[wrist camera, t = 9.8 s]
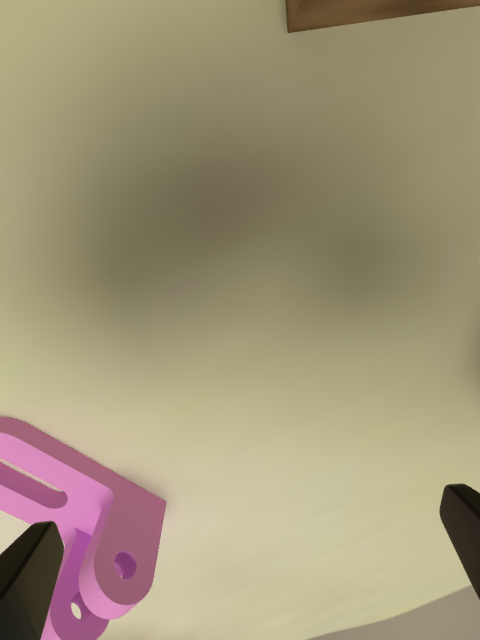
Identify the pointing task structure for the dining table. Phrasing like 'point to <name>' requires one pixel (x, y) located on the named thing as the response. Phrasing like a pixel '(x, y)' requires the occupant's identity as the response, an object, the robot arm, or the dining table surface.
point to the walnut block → (360, 11)
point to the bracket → (83, 528)
